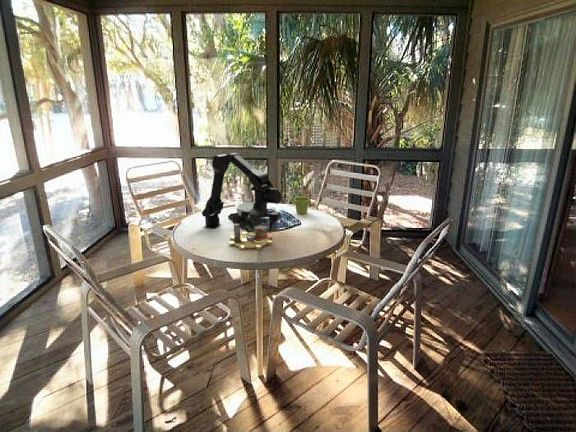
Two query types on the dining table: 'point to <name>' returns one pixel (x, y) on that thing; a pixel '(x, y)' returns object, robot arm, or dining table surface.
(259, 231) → the block
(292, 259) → the dining table surface
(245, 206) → the cereal bowl
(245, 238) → the sprocket
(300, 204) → the plant pot
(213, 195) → the robot arm
